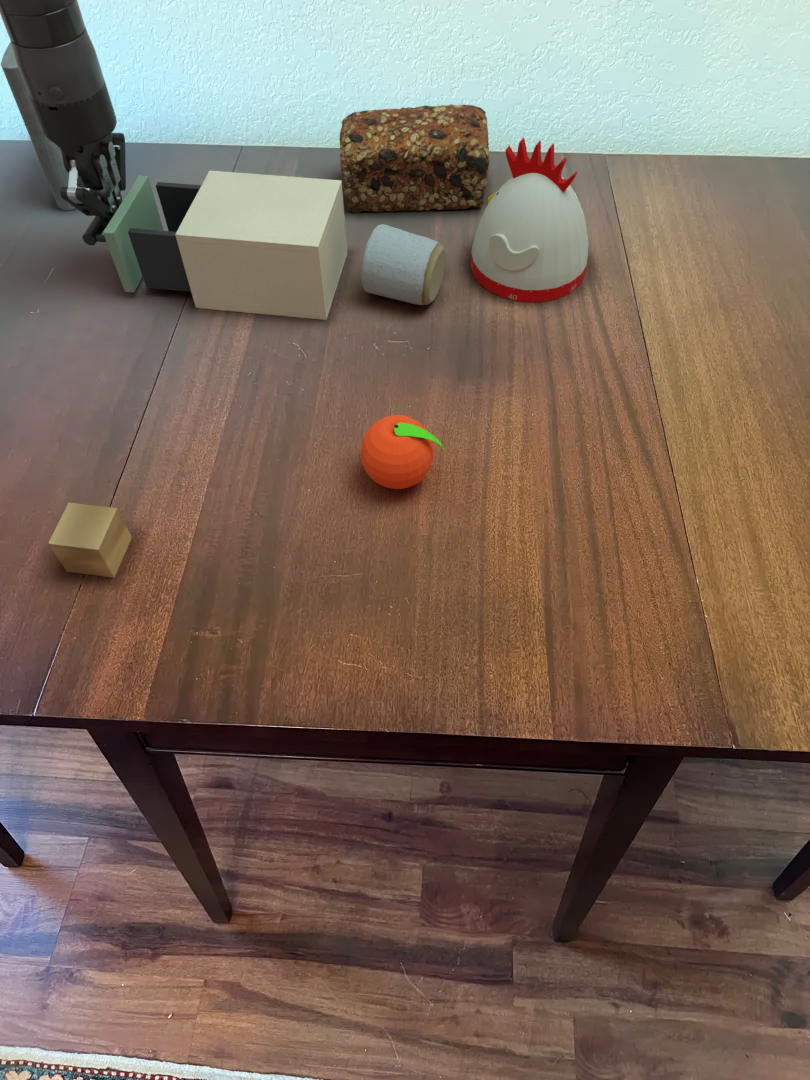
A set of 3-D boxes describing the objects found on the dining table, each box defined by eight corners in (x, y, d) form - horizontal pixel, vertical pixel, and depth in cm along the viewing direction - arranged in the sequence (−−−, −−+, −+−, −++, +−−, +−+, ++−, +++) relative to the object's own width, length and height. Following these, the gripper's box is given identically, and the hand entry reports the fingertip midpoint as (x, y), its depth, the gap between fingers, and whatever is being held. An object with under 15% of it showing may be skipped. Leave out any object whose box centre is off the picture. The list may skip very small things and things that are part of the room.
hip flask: (78, 210, 102) (15, 44, 86) (48, 210, 103) (-22, 43, 86) (109, 146, 111) (57, -16, 95) (81, 146, 112) (25, -16, 95)
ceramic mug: (427, 320, 89) (429, 262, 83) (361, 305, 91) (357, 246, 85) (456, 268, 95) (459, 209, 89) (393, 254, 97) (392, 195, 90)
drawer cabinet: (195, 308, 91) (174, 234, 83) (225, 243, 98) (209, 170, 90) (326, 320, 89) (318, 246, 82) (347, 254, 97) (341, 180, 89)
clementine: (448, 455, 78) (451, 403, 72) (438, 509, 74) (440, 460, 68) (370, 445, 78) (366, 394, 73) (355, 499, 74) (350, 449, 69)
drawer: (89, 288, 92) (64, 229, 85) (123, 231, 98) (103, 172, 92) (244, 302, 90) (231, 243, 84) (268, 244, 96) (258, 184, 90)
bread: (481, 169, 107) (486, 93, 99) (486, 214, 101) (492, 137, 93) (345, 171, 107) (340, 95, 99) (342, 216, 101) (336, 139, 93)
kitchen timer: (499, 220, 100) (511, 100, 88) (601, 250, 96) (628, 128, 84) (451, 281, 93) (457, 159, 81) (559, 315, 89) (583, 193, 77)
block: (67, 572, 70) (47, 543, 66) (86, 531, 73) (68, 502, 69) (114, 578, 70) (98, 549, 66) (132, 537, 72) (117, 507, 68)
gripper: (56, 49, 82) (109, 202, 96) (0, 112, 74) (66, 268, 89) (124, 54, 81) (167, 207, 95) (75, 118, 74) (129, 274, 88)
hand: (118, 236), depth 92 cm, fingers closed
